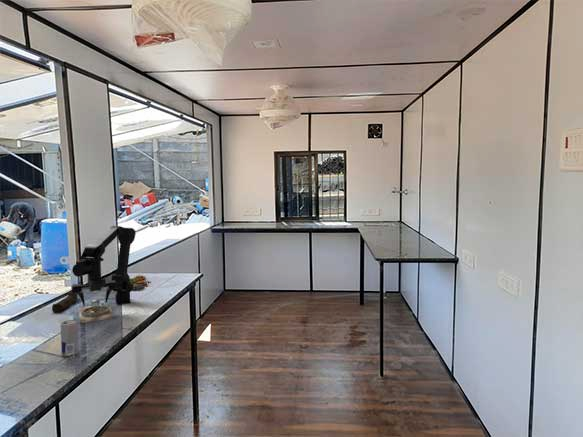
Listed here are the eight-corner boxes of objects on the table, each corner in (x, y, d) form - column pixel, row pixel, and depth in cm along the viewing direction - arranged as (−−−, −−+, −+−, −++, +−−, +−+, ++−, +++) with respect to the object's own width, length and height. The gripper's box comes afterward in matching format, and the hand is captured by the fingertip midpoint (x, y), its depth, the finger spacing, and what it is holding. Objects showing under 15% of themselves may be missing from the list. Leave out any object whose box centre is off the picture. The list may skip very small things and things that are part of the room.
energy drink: (66, 350, 146) (64, 319, 144) (81, 350, 146) (79, 319, 145) (58, 357, 140) (57, 325, 139) (74, 356, 141) (73, 324, 140)
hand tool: (62, 313, 186) (61, 302, 186) (51, 313, 186) (51, 302, 186) (83, 299, 209) (83, 289, 208) (74, 299, 209) (73, 289, 208)
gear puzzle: (129, 279, 254) (129, 272, 254) (155, 278, 256) (155, 272, 256) (114, 292, 223) (114, 285, 223) (143, 291, 225) (143, 285, 225)
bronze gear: (103, 309, 189) (103, 297, 188) (105, 314, 182) (105, 301, 182) (86, 311, 185) (85, 299, 185) (86, 316, 179) (86, 303, 178)
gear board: (109, 305, 198) (109, 299, 197) (113, 318, 181) (113, 311, 180) (78, 310, 191) (77, 303, 190) (79, 323, 174) (79, 315, 173)
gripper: (71, 277, 170) (73, 312, 172) (117, 273, 180) (118, 306, 181) (71, 272, 180) (72, 305, 181) (115, 268, 189) (116, 299, 191)
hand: (95, 304), depth 183 cm, fingers open, 9 cm apart
